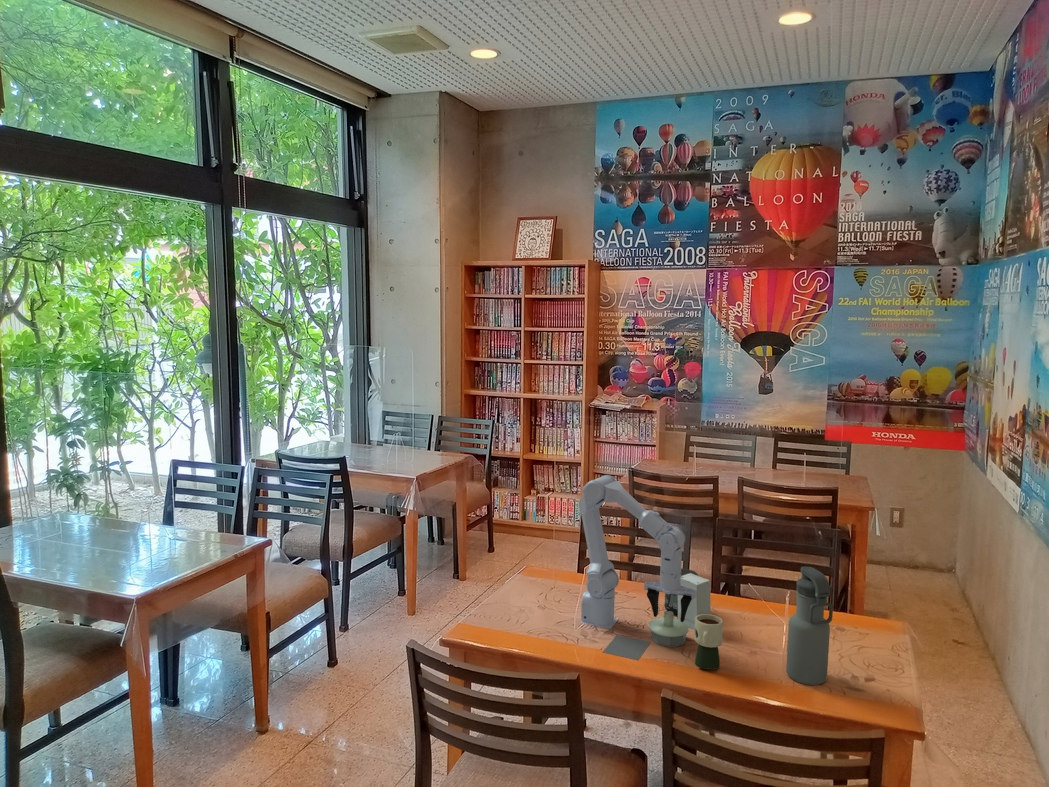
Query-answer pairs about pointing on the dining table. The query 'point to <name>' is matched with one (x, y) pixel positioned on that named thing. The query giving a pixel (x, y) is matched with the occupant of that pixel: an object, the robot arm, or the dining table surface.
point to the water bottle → (809, 630)
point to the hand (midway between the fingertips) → (669, 618)
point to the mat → (626, 647)
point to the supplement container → (672, 599)
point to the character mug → (708, 640)
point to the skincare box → (700, 602)
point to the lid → (668, 626)
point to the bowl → (668, 640)
